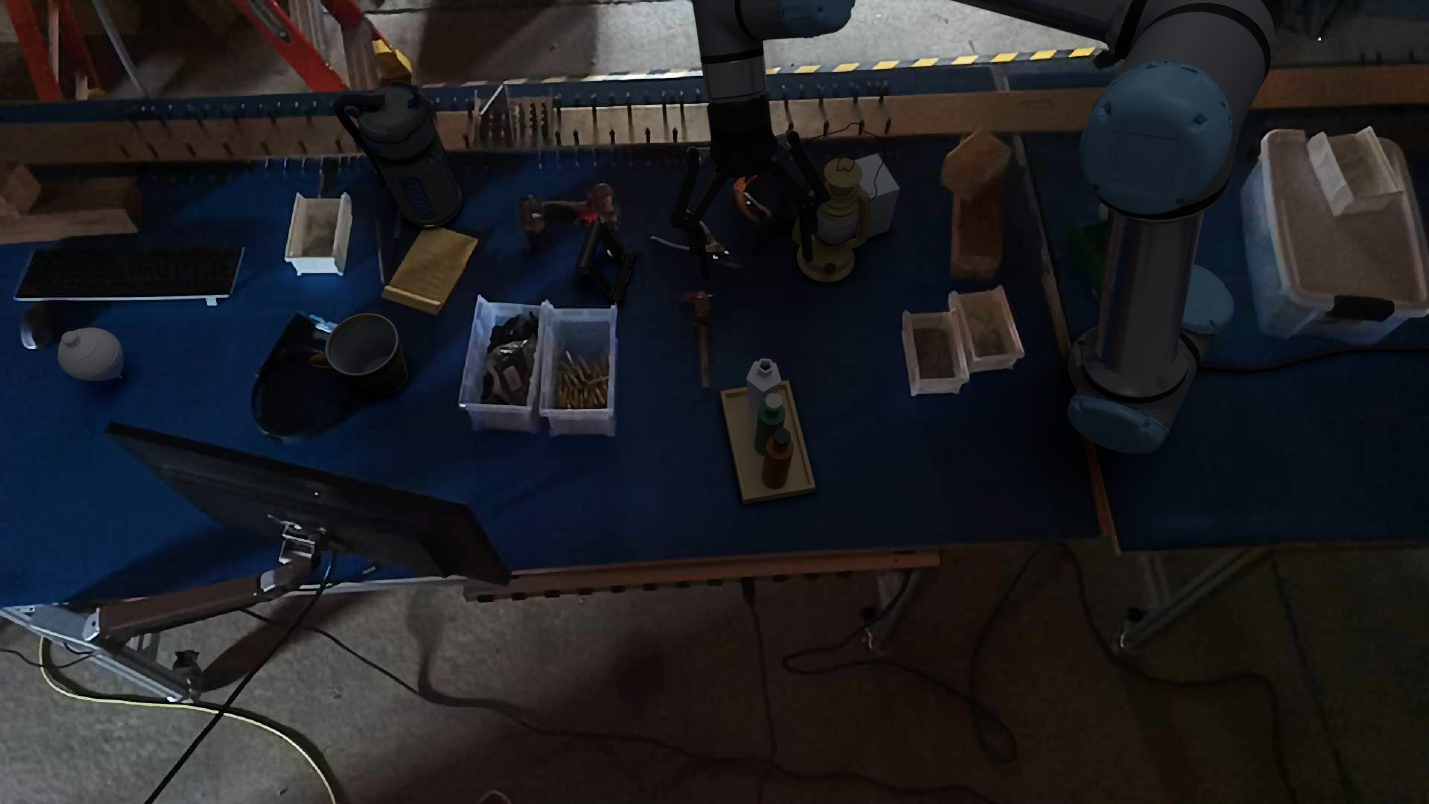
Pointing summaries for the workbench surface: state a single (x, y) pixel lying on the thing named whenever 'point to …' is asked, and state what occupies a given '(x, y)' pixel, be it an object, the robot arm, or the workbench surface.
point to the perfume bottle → (761, 385)
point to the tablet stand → (589, 268)
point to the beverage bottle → (404, 150)
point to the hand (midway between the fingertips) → (757, 268)
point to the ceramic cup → (366, 354)
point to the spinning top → (91, 354)
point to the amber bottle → (777, 459)
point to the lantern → (837, 220)
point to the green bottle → (768, 421)
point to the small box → (878, 193)
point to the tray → (752, 462)
